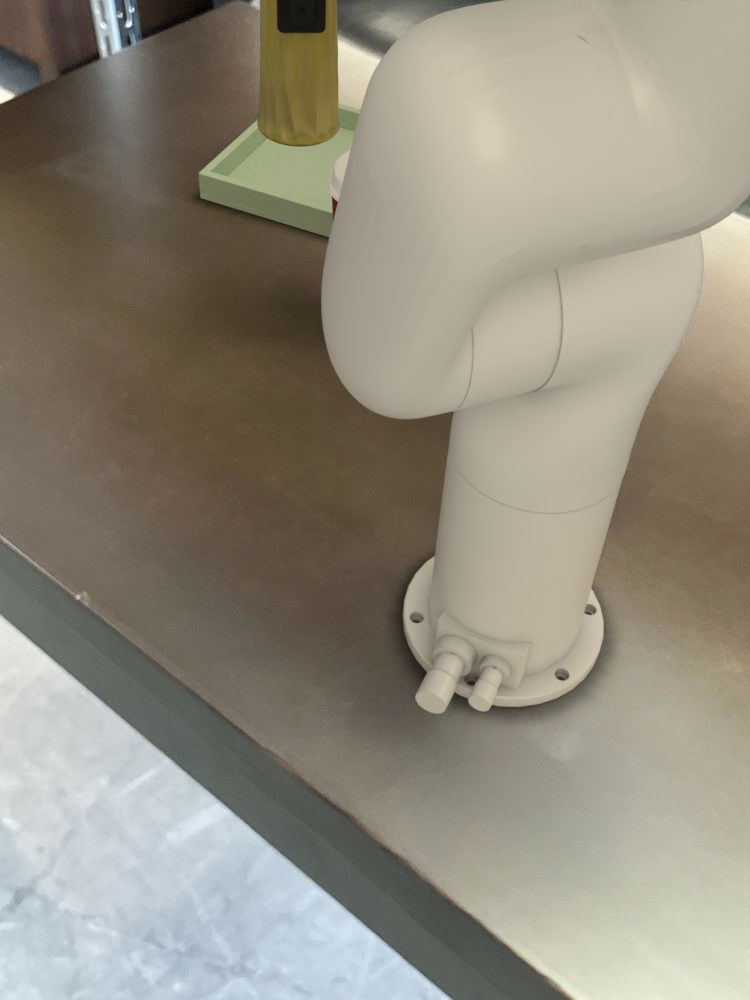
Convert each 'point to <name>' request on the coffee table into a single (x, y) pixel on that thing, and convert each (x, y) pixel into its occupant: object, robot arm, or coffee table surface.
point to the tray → (279, 176)
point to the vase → (298, 81)
